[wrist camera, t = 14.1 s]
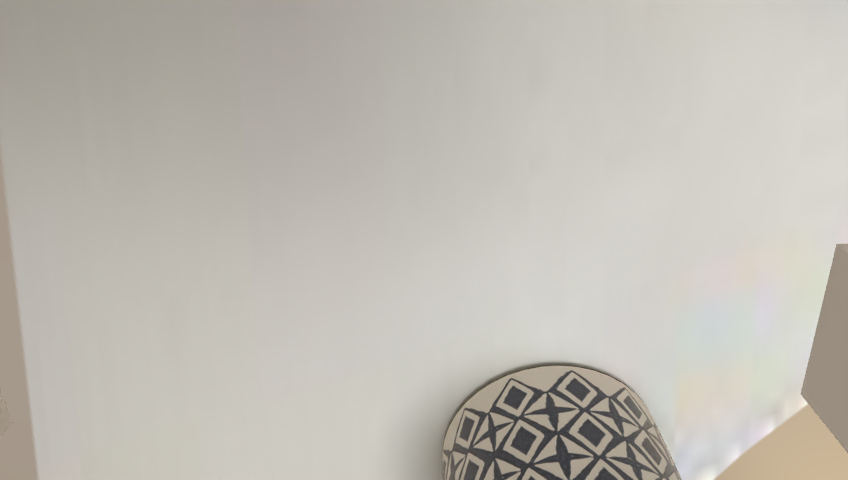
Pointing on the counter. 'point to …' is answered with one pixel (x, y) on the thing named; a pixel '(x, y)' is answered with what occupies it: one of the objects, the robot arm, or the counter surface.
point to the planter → (555, 431)
